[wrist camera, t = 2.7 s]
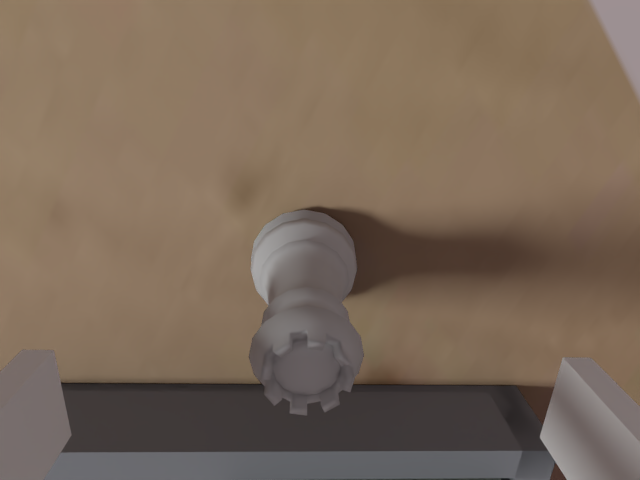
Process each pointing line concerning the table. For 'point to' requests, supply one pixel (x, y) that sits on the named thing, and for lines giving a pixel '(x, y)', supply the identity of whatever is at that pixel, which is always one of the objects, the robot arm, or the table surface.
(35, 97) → the table surface
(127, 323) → the table surface
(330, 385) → the rook chess piece
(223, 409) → the bay
